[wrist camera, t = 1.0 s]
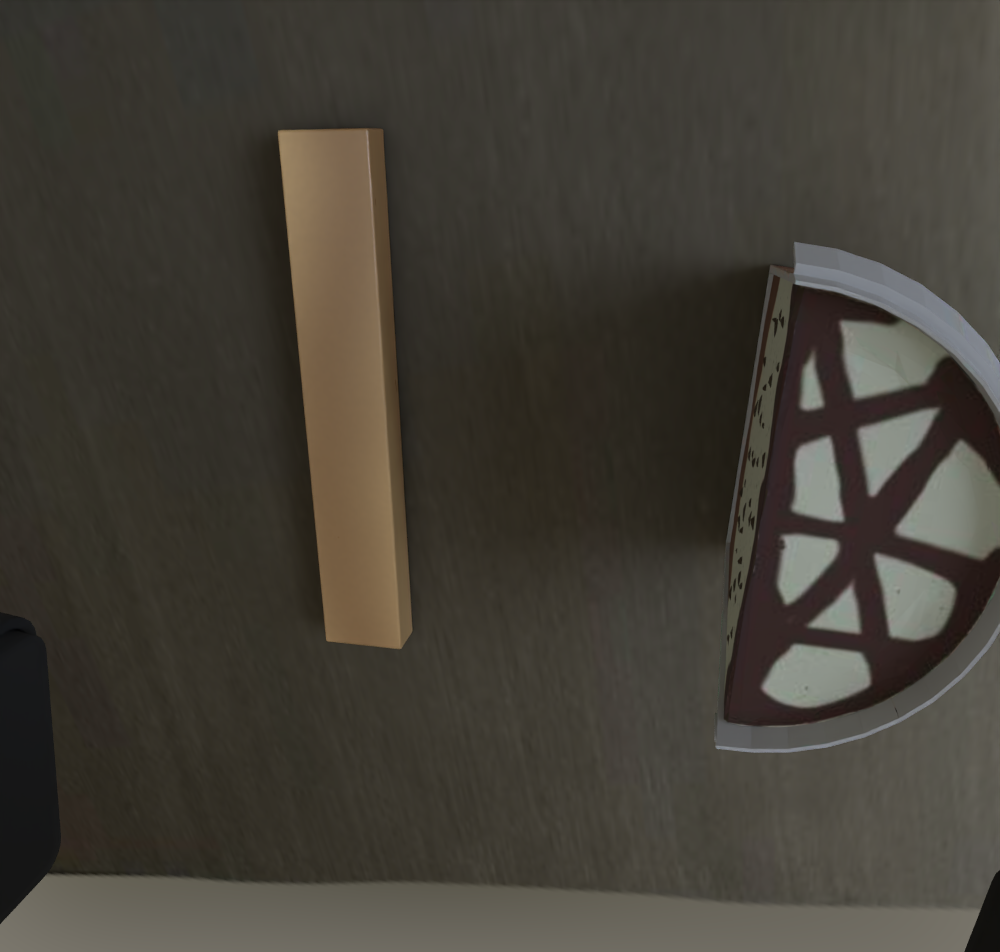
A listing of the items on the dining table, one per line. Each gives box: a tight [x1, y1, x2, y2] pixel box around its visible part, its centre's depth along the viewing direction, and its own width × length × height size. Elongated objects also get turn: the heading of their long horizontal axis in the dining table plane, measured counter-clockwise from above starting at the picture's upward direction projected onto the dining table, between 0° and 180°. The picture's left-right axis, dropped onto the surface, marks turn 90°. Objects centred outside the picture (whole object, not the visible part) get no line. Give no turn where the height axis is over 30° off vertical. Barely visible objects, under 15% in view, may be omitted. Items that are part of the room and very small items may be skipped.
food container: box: [714, 242, 1000, 752], centre depth 24 cm, size 12×6×10 cm, turn 177°
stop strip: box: [278, 128, 412, 649], centre depth 32 cm, size 3×18×1 cm, turn 1°
